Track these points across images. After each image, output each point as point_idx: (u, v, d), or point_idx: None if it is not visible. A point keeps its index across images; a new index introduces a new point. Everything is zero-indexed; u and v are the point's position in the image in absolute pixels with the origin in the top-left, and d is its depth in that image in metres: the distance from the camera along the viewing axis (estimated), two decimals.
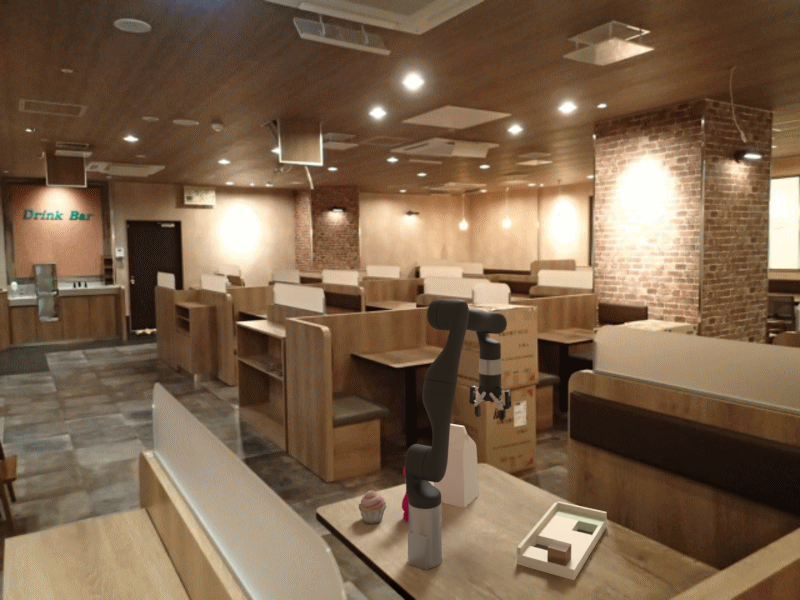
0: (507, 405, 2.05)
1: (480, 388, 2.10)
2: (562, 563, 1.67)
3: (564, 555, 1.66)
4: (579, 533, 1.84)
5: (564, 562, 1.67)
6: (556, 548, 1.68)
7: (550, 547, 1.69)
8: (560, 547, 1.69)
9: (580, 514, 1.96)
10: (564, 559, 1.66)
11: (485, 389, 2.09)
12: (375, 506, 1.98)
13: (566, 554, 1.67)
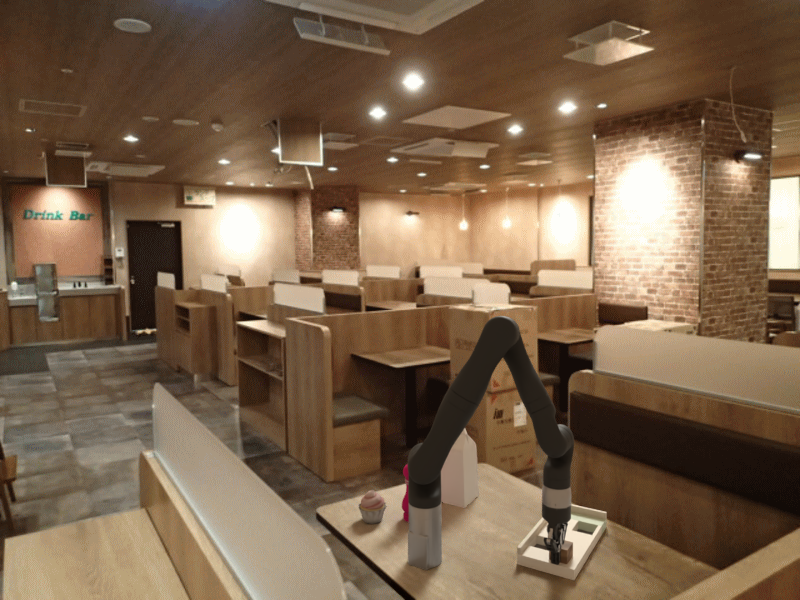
0: (563, 539, 1.68)
1: (555, 529, 1.62)
2: (563, 561, 1.68)
3: (565, 553, 1.67)
4: (579, 533, 1.84)
5: (565, 560, 1.67)
6: None
7: None
8: (562, 545, 1.70)
9: (580, 514, 1.96)
10: (565, 557, 1.67)
11: (558, 525, 1.64)
12: (375, 506, 1.98)
13: (567, 552, 1.68)
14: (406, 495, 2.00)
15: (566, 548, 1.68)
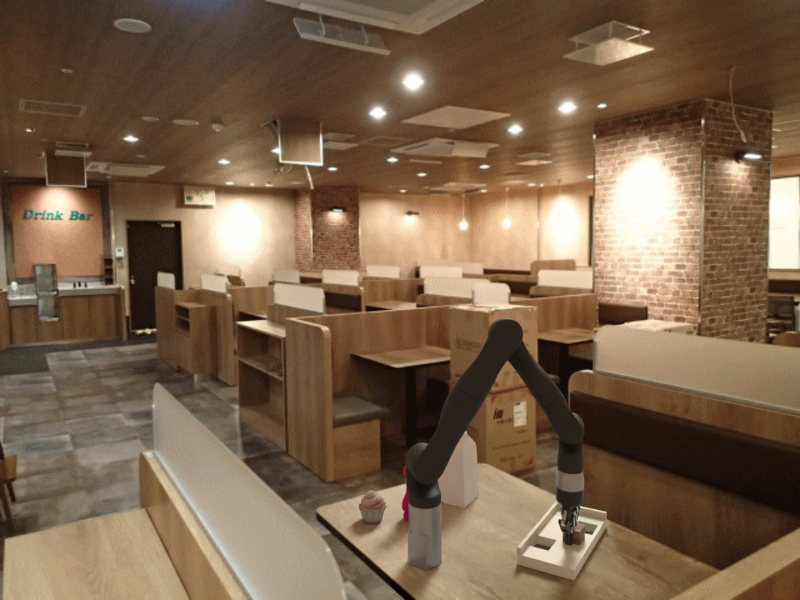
0: (576, 521, 1.77)
1: (569, 511, 1.72)
2: (576, 542, 1.78)
3: (578, 535, 1.77)
4: None
5: (578, 541, 1.77)
6: None
7: None
8: None
9: (580, 514, 1.96)
10: (578, 539, 1.77)
11: (572, 508, 1.74)
12: (375, 506, 1.98)
13: (580, 534, 1.77)
14: (406, 495, 2.00)
15: (579, 530, 1.78)
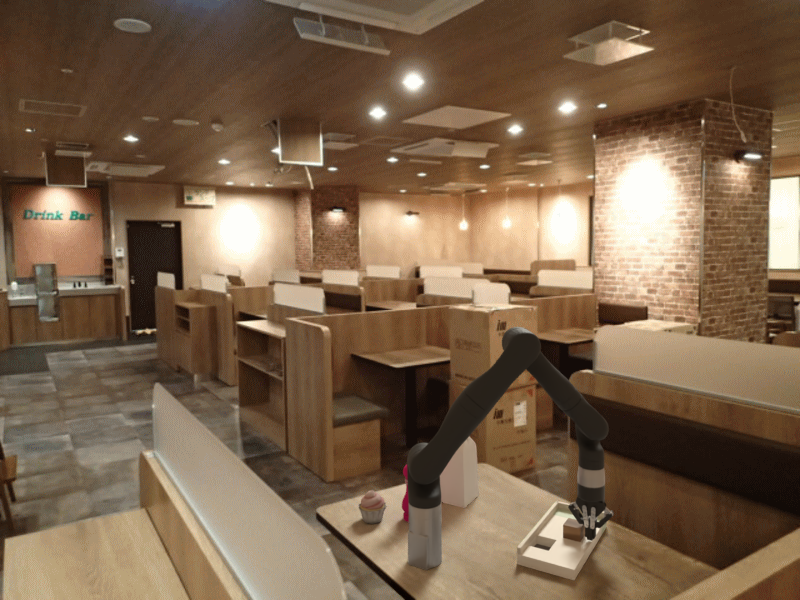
0: None
1: None
2: (577, 539, 1.79)
3: (578, 532, 1.79)
4: None
5: (579, 538, 1.79)
6: (571, 525, 1.81)
7: (565, 524, 1.81)
8: (575, 524, 1.81)
9: None
10: (579, 535, 1.79)
11: None
12: (375, 506, 1.98)
13: (580, 531, 1.79)
14: (406, 495, 2.00)
15: (579, 527, 1.80)
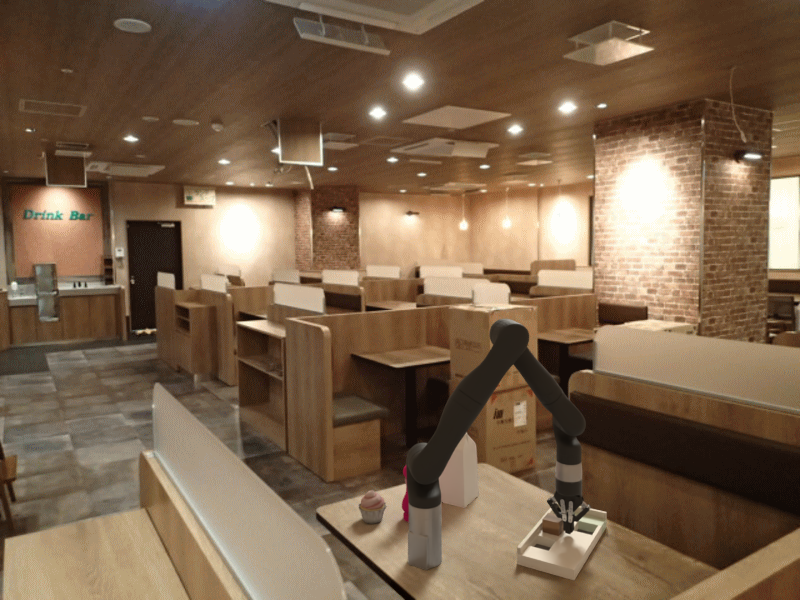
0: None
1: None
2: (555, 533, 1.83)
3: (557, 526, 1.83)
4: (579, 533, 1.84)
5: (557, 532, 1.83)
6: (551, 519, 1.84)
7: (545, 519, 1.85)
8: (554, 519, 1.85)
9: None
10: (557, 529, 1.83)
11: None
12: (375, 506, 1.98)
13: (559, 525, 1.83)
14: (406, 495, 2.00)
15: (558, 521, 1.83)
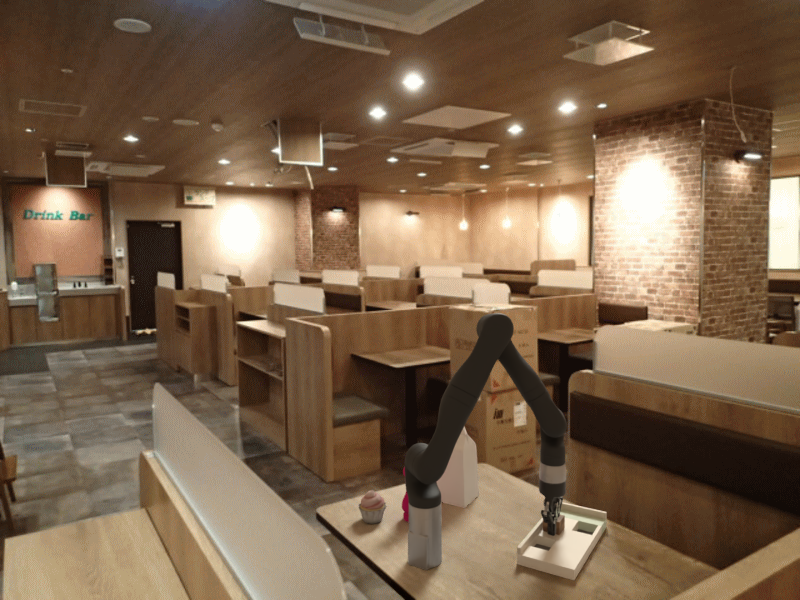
0: (559, 512, 1.83)
1: (552, 502, 1.77)
2: (556, 532, 1.84)
3: (558, 525, 1.83)
4: (579, 533, 1.84)
5: (558, 531, 1.83)
6: None
7: None
8: None
9: (580, 514, 1.96)
10: (558, 528, 1.83)
11: (554, 499, 1.79)
12: (375, 506, 1.98)
13: (560, 524, 1.84)
14: (406, 495, 2.00)
15: (558, 520, 1.84)
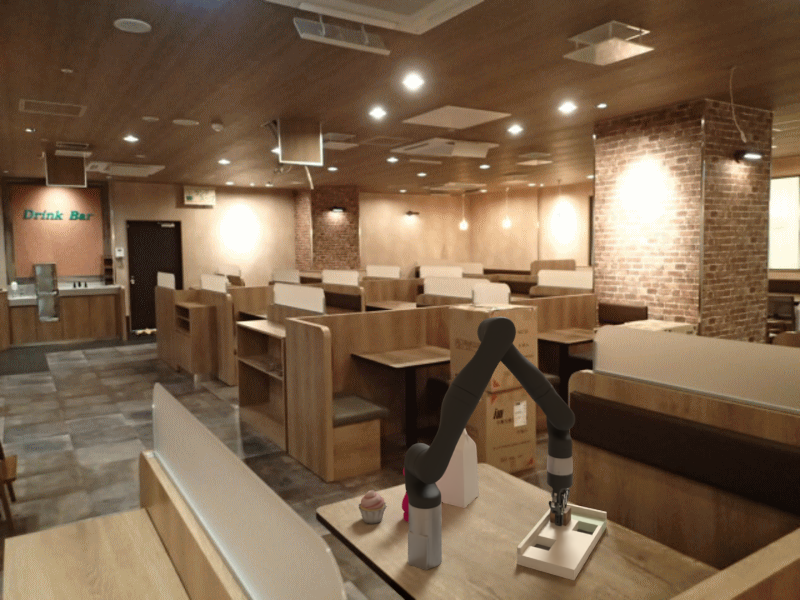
0: (566, 503, 1.89)
1: (559, 493, 1.83)
2: (563, 523, 1.89)
3: (564, 516, 1.89)
4: (579, 533, 1.84)
5: (565, 522, 1.89)
6: None
7: None
8: None
9: (580, 514, 1.96)
10: (565, 519, 1.89)
11: (561, 491, 1.85)
12: (375, 506, 1.98)
13: (566, 515, 1.89)
14: (406, 495, 2.00)
15: (565, 511, 1.89)
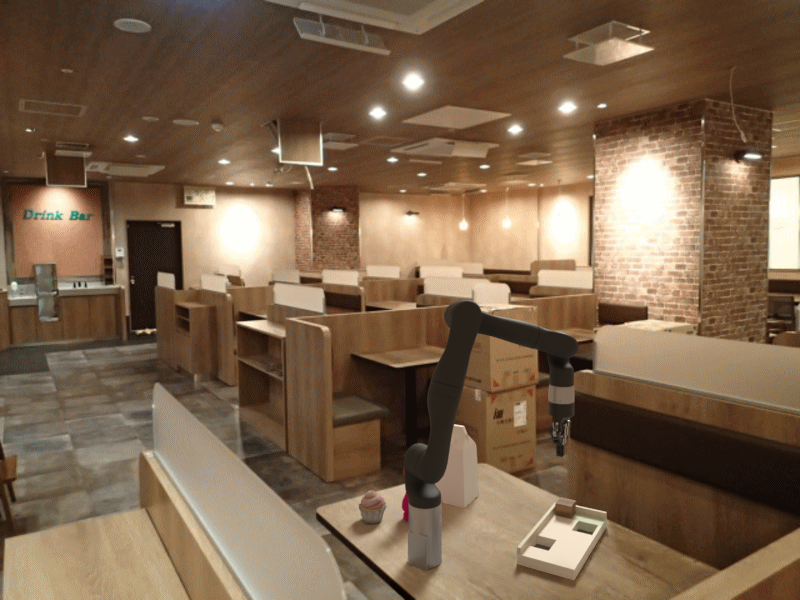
0: (567, 435, 1.88)
1: (561, 423, 1.82)
2: (568, 516, 1.94)
3: (570, 509, 1.93)
4: (579, 533, 1.84)
5: (570, 515, 1.93)
6: (563, 503, 1.95)
7: (557, 503, 1.95)
8: (566, 503, 1.95)
9: (580, 514, 1.96)
10: (570, 513, 1.93)
11: (563, 420, 1.84)
12: (375, 506, 1.98)
13: (571, 508, 1.93)
14: (406, 495, 2.00)
15: (570, 505, 1.94)
